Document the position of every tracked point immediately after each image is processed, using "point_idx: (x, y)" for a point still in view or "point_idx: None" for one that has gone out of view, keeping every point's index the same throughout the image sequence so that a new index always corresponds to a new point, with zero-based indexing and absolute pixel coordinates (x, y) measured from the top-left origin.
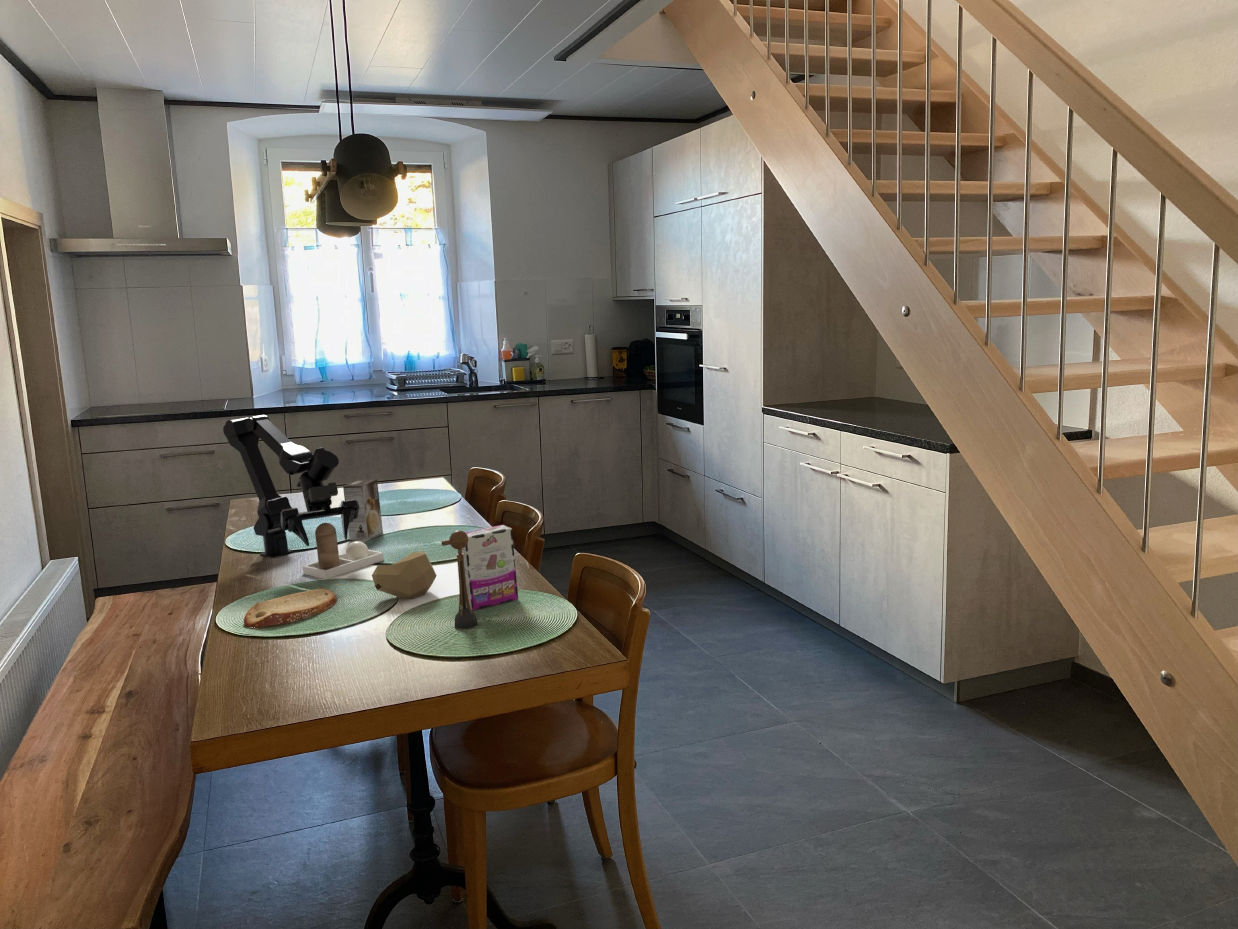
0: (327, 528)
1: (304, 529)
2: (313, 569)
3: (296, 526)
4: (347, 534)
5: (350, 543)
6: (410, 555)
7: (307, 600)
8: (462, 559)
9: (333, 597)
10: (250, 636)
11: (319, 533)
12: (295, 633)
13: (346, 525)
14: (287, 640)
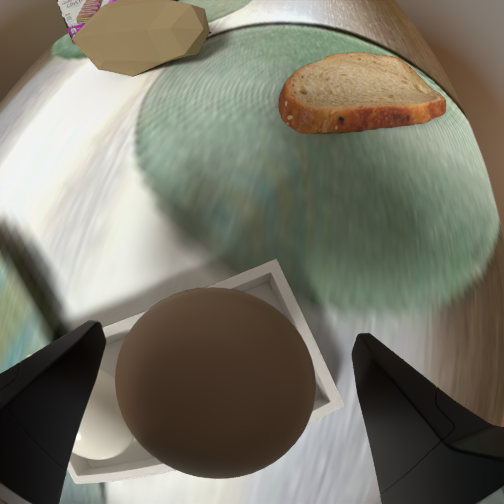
0: (201, 295)
1: (419, 411)
2: (311, 334)
3: (487, 426)
4: (74, 330)
5: (90, 433)
6: (124, 2)
7: (346, 87)
8: None
9: (290, 77)
10: (415, 67)
11: (288, 321)
12: (356, 40)
13: (29, 366)
14: (364, 34)
